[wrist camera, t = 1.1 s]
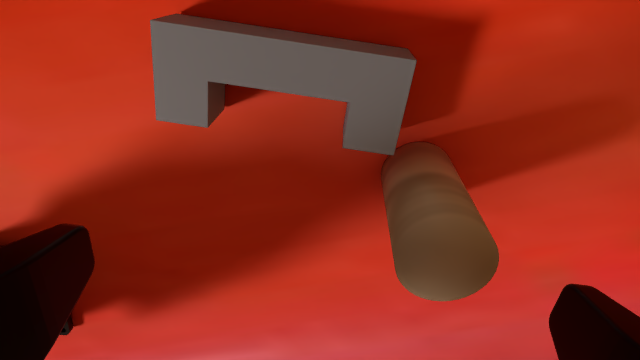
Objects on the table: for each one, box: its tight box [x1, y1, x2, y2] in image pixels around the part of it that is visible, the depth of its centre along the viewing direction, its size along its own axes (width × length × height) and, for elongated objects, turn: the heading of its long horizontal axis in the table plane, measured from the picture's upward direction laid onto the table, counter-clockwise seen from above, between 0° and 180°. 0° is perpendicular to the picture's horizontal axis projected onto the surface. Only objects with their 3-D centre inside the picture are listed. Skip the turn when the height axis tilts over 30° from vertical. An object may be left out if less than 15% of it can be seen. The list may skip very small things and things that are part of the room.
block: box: [150, 14, 417, 156], centre depth 17 cm, size 4×10×3 cm, turn 83°
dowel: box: [381, 142, 499, 301], centre depth 17 cm, size 4×4×7 cm
